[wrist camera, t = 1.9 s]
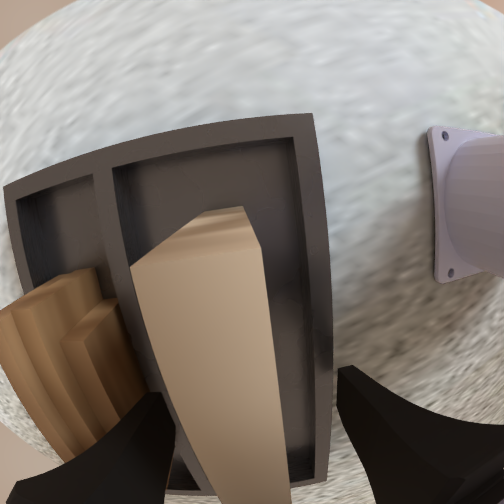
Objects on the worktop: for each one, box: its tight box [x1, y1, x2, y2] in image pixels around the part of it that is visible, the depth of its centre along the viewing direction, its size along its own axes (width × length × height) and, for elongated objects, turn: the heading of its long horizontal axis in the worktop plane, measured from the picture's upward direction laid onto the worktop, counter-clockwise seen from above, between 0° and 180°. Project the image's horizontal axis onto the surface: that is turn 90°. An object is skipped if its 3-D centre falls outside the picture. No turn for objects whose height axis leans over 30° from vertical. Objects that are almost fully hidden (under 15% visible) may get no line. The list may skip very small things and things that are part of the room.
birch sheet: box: [130, 206, 292, 504], centre depth 9 cm, size 2×14×8 cm, turn 8°
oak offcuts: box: [0, 267, 175, 490], centre depth 10 cm, size 3×11×6 cm, turn 8°
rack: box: [3, 113, 333, 496], centre depth 12 cm, size 13×20×2 cm, turn 8°
